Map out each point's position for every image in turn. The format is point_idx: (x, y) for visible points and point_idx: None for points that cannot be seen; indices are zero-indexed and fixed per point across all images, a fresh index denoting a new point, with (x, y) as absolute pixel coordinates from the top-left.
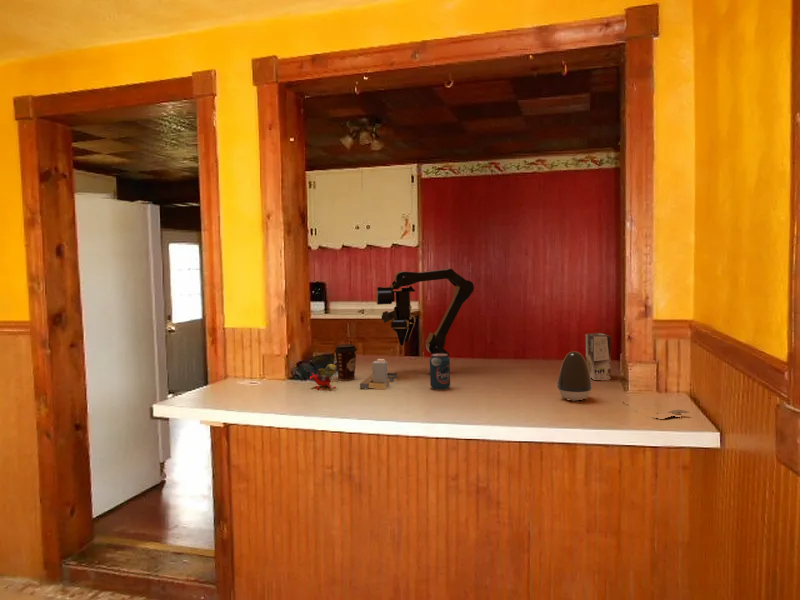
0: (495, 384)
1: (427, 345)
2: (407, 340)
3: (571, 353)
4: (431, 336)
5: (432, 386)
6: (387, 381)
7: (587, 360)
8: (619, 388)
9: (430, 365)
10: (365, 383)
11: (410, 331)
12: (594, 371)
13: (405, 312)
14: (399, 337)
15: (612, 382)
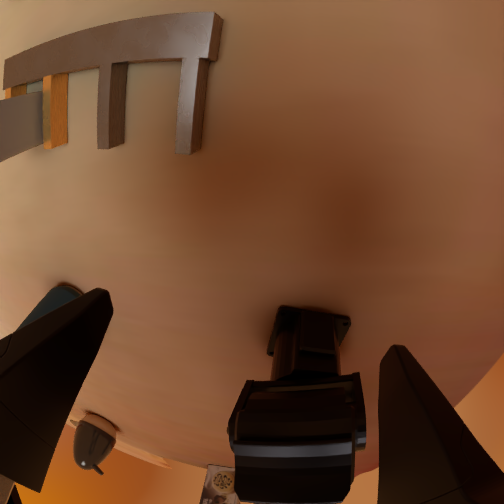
0: (154, 400)
1: (291, 423)
2: (382, 373)
3: (76, 463)
4: (264, 486)
5: (51, 289)
6: (41, 143)
7: (229, 488)
8: (171, 459)
9: (18, 328)
10: (4, 79)
11: (381, 487)
12: (206, 475)
13: None
14: (22, 344)
15: (202, 466)
